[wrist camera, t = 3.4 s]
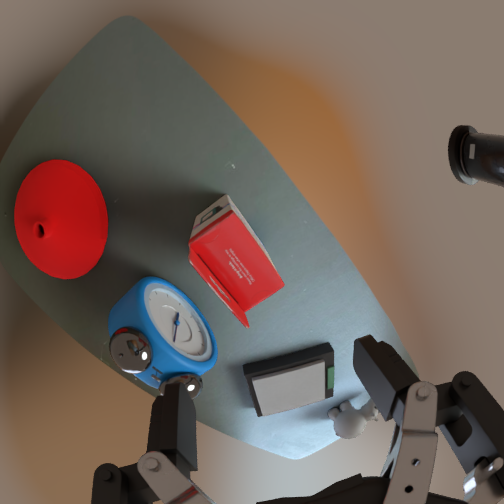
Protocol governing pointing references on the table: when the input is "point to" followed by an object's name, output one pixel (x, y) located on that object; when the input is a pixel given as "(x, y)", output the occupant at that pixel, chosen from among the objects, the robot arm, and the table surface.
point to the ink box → (232, 258)
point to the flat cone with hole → (61, 219)
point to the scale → (291, 380)
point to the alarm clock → (161, 336)
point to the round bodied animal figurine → (352, 418)
